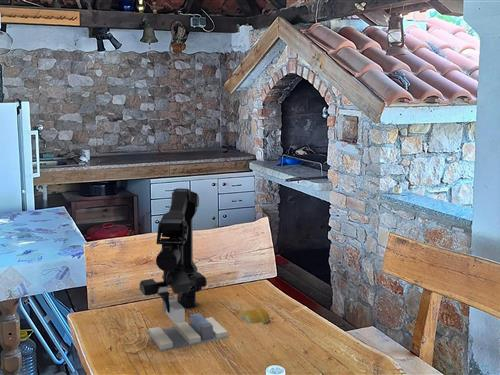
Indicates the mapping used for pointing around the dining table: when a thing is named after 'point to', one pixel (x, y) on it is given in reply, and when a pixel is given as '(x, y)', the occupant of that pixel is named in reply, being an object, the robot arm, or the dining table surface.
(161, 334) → the rack
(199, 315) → the grey rectangular bar
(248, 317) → the bread roll
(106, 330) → the dining table surface
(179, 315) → the grey white bar
